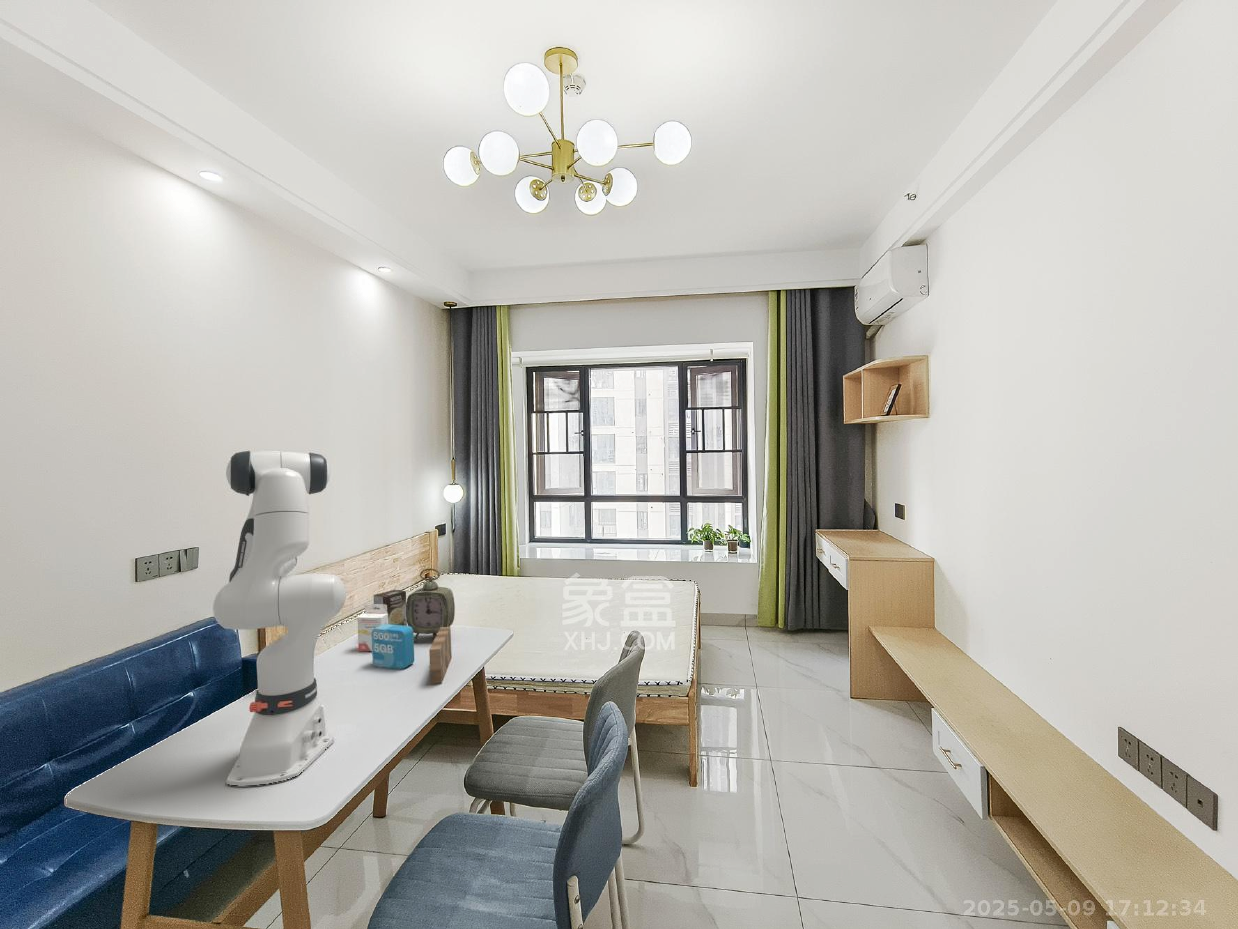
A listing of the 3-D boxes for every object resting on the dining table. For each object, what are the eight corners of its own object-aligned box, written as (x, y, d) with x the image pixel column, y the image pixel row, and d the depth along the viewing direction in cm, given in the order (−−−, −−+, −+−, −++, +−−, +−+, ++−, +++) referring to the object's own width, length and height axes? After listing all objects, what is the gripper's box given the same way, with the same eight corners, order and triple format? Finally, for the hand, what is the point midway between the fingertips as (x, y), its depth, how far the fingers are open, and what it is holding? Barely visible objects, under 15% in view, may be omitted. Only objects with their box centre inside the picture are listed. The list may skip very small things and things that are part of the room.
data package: (372, 666, 178) (370, 628, 178) (382, 661, 182) (380, 623, 182) (405, 669, 175) (404, 630, 174) (415, 664, 179) (413, 626, 179)
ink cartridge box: (357, 652, 191) (355, 608, 190) (365, 646, 196) (363, 603, 195) (382, 652, 190) (380, 608, 190) (390, 647, 195) (388, 603, 194)
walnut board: (441, 683, 164) (440, 649, 163) (430, 684, 163) (429, 649, 163) (451, 657, 184) (450, 626, 183) (441, 658, 183) (440, 627, 183)
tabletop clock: (407, 644, 197) (404, 571, 196) (417, 635, 206) (414, 565, 205) (449, 643, 197) (446, 570, 196) (457, 634, 206) (454, 565, 205)
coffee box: (386, 643, 199) (384, 597, 198) (374, 640, 202) (372, 595, 201) (408, 635, 207) (406, 590, 206) (396, 632, 210) (394, 588, 209)
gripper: (277, 596, 163) (316, 628, 165) (305, 579, 183) (339, 608, 185) (261, 613, 163) (300, 645, 165) (291, 594, 183) (325, 622, 185)
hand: (321, 625), depth 175 cm, fingers closed
